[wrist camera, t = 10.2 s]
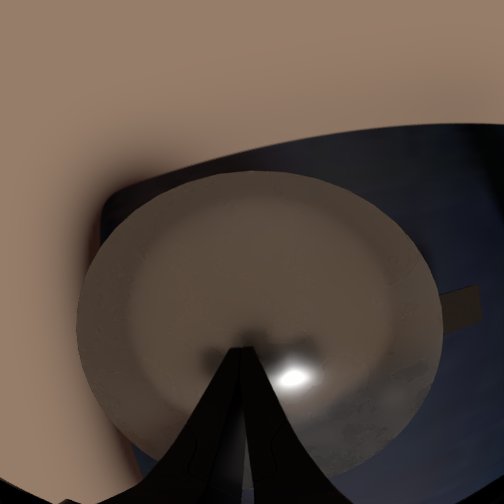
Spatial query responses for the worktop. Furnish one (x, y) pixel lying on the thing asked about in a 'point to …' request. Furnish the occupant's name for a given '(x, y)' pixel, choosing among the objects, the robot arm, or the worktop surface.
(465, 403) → the worktop surface
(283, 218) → the lid
